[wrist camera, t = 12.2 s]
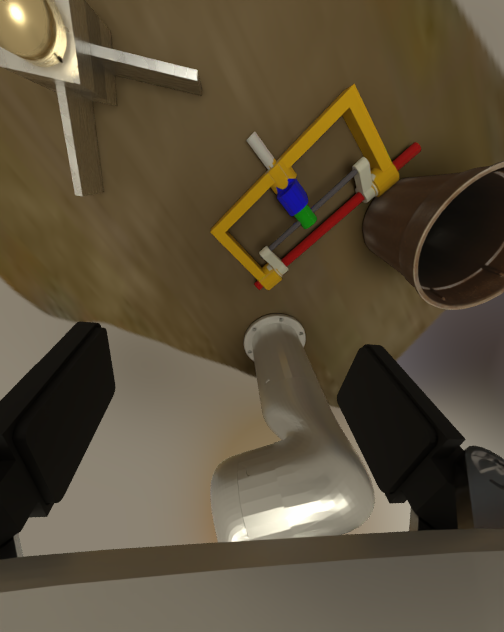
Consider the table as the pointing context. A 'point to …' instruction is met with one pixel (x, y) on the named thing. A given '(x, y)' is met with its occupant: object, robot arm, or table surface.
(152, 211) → the table surface
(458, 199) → the plant pot
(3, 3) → the wooden bell shape
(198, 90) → the white corner connector
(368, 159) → the mechanical clamp
